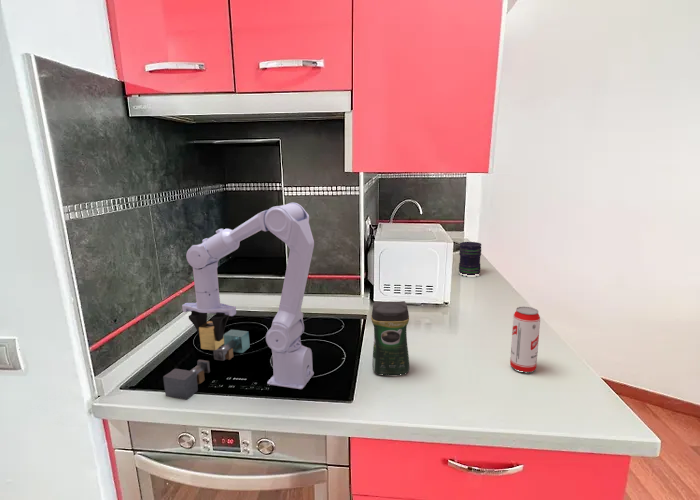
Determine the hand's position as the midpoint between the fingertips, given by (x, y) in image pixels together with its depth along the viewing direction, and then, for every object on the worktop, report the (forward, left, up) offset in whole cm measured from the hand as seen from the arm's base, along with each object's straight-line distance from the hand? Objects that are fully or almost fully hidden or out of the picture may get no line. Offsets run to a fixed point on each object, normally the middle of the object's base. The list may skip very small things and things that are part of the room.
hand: (211, 338), depth 105 cm
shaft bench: (0, 0, -9) cm, 9 cm away
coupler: (0, 0, -2) cm, 2 cm away
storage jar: (-65, -108, -9) cm, 126 cm away
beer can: (-79, -20, -9) cm, 81 cm away
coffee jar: (-46, -11, -9) cm, 48 cm away
